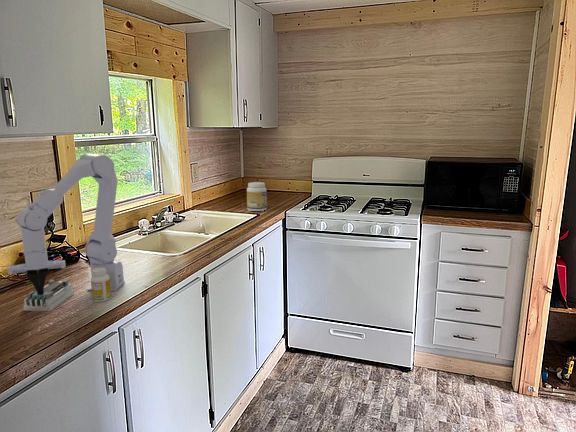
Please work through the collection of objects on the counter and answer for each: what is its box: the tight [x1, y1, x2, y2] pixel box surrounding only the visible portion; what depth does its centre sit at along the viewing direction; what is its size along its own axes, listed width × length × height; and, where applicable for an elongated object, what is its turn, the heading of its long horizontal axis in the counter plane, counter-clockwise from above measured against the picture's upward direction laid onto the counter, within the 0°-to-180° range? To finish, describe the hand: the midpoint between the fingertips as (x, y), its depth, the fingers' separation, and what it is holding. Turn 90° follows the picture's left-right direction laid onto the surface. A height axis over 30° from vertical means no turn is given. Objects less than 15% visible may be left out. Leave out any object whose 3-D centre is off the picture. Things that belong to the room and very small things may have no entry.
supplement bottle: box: [90, 267, 112, 303], centre depth 135 cm, size 5×5×10 cm
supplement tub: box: [246, 181, 268, 212], centre depth 266 cm, size 12×12×17 cm
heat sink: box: [22, 279, 75, 312], centre depth 133 cm, size 13×8×5 cm, turn 177°
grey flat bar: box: [32, 281, 63, 298], centre depth 134 cm, size 11×4×1 cm, turn 177°
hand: (40, 293), depth 130 cm, fingers closed, pressing on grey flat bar
